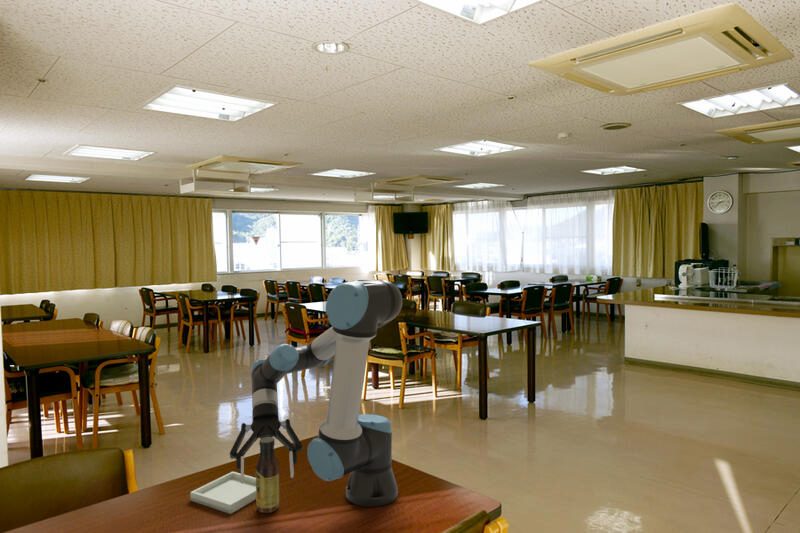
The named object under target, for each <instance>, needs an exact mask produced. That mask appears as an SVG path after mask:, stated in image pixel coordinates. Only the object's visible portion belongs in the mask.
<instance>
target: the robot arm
mask: <svg viewBox="0 0 800 533" xmlns="http://www.w3.org/2000/svg"><path fill="white" fill-rule="evenodd" d="M401 293H402V292H401V291H400V289H399V288H398V286H397V285H396V284H394V283H393V282H391V281H389V280H386V279H373V280H350V281H346V282H341V283H340V284H338V285H336V286H335V287H334V288H333V289H332V290H331V291H330V293H329V294H328V296H327V299H326V304H325V314H326V316H328V317H327V320H328V323H329V324H330V325H331V327H330V328H328V329H327V330H325V331H323V333H321V334H320V335H319V336H317V337H316V338H314V339H313V340H312V341H311V342H309V343H307V344H305V345H299V346H293V345H292V344H288V343H282V344H280V345H278V346H277V347H276V348H275V349H273V350H272V352H270V354H269V355H268V357H267V358H260V359H258V360H256V361H255V362H253V363H252V365H251V377H250V378H251V394H252V395H251V402H252V403H251V407H252V410H251V411H252V412H251V415H252V419H251V420H252V421H251V422H252V423H251V424H246V423H245V422H242V423H241V425H240V426H241V427H240V431H239V434H238V435H237V438H236V439H235V441H234V443H233V445H232V447H231V449H230V452H229V457H230V459H231V460H235V461H236V472H239V471H240V474H241V484H244V475H245V455H246V453H247V452H248V451H249V449H251V447H252V446H253V445H254V443H255V442H257V440H258V439H262V438H264V437H272V438H274V439H276V440H278V441H279V443H280V444H282V445H283V446H284V447H285V448H286V449H287V450H288V453H289V455H288V460H289V472H290V478H291V479H292V478H293V479H294V477H295V476H294V475H295V472H294V471H295V470H294V465H297V463H298V456H297V453H298V452H301V451H303V444H302V442H301V441H300V438H299V437H298V435H297V433H296V432H295V430H294V429H293V427H292V426H291V421H290V418H287V419H285V420H284V421H280V419H279V418H280V417H279V416H280V415H279V407H278V406H279V400H278V399H279V398H278V383H279V382H280V381H281V380H282V379H283V378H285V376H286V375H289V374H293V373H297V372H301V371H306V370H310V369H314V368H320V367H323V366H326V365H327V364H329V363H330V360H331V359H332V357H333V356H334V358H333V365H332V374H331V379H330V380H331V382H330V389H329V397H328V401H327V402H328V403H327V410H326V411H327V412H326V418H325V419H324V420H322V422H321V423H320V424H319V430H318V435H317V437H314V438H313V439H312V440H311V441H309V443H308V445H307V450H306V452H307V454H306V455H307V460H308V463H309V465H310V466H311V467H310V468H312V471H313V472H314V474H315V475H316V476H317V477H318V478H320V479H321V480H323V481H326V482H332V481H335V480H338V479H341V478H343V477H345V476H346V475H348V474H349V478H348V480H347V484H346V487H345V497H346V499H347V501H349V502H350V503H352V504H353V505H356V506H359V507H367V508H368V507H369V508H371V507H373V508H374V507H381V506H385V505H388V504H390V503H392V502H394V501H395V500H396V499H397V498H398V495H399V492H398V491H399V490H398V489H399V488H398V483H397V481H396V480H397V479H396V478H395V474H394V472H393V471H394V470H393V468H392V462H393V461H392V460H393V459H392V458H393V456H392V452H393V450H392V449H393V448H392V447H393V446H392V444H393V443H392V441H393V439H392V438H393V437H392V436H393V435H392V434H393V431H392V423H391V421H390V419H389V418H387V417H385V416H383V415H378V414H371V413H370V414H367V413H365V414H360V410H361V404H362V403H361V402H362V394H363V391H364V390H363V389H364V383H365V373H366V369H367V362H368V354H369V347H370V342H371V340H372V339H374V338H375V337H376V336H377V332H378V328H381V327H384V326H385V325H386V324H388V323H390V322H391V321H392V320H394V319H395V318H396V317H397V316H398V315H399V314H400V312H401V310H402V308H403V297H402V296H403V295H402V294H401ZM281 427H282V429H284V430H285V431H286V433H287V435H288V436H289V438H290V440H291V441H292V442H291V441H290V440H289V439H288V438H287V437H286V436H285V435H284V434H283V433H282V432H281V430H280V429H281ZM250 430H251V431H252V433H251V435H250V437H249V438H248V439H247V441H246V442H245V443H244V444H243V446H242V443H243V440H244V439H245V435H246V434H247V433H248V432H249V431H250ZM240 447H241V448H240Z"/></svg>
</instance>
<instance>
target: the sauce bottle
mask: <svg viewBox="0 0 800 533" xmlns="http://www.w3.org/2000/svg"><path fill="white" fill-rule="evenodd" d="M258 446H259V457H258V461H257V462H256V466H255V478H256V503H255V504H256V508H257V509H256V510H257V511H258V512H259V513H263V514H268V513H270V514H271V513H273V512H276V511H277V510H278V508H279V507H280V470H279V460H278V458H277V457H276V455H275V437H264V438H262V439H261V438H259V444H258Z"/></svg>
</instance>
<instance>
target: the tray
mask: <svg viewBox="0 0 800 533" xmlns="http://www.w3.org/2000/svg"><path fill="white" fill-rule="evenodd" d="M255 500H256V477H253V476H251V475H248V474H244V484H241V472H240V473H239V472H238V471H230V472H229V473H227V474H224V475H223V476H220V477H218V478H216V479H214V480H212V481H210V482H208V483H206V484H204V485H202V486H200V487H198V488H196V489H194V490H192V491H190V501H191V502H194V503H196V504H200V505H203V506H206V507H207V508H211V509H214V510H217V511H220V512H223V513H226V514H229V515H231V514H233V513H234V512H237V511H239V510H240V509H242V508H244V507H245V506H247V505H249V504H250V503H253V502H254V501H255Z"/></svg>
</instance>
